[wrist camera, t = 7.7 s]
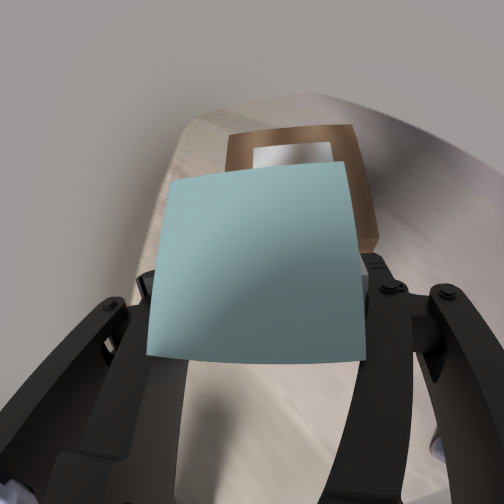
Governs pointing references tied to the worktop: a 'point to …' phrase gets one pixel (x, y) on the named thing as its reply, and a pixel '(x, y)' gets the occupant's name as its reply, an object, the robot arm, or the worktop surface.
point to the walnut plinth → (311, 151)
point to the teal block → (259, 269)
